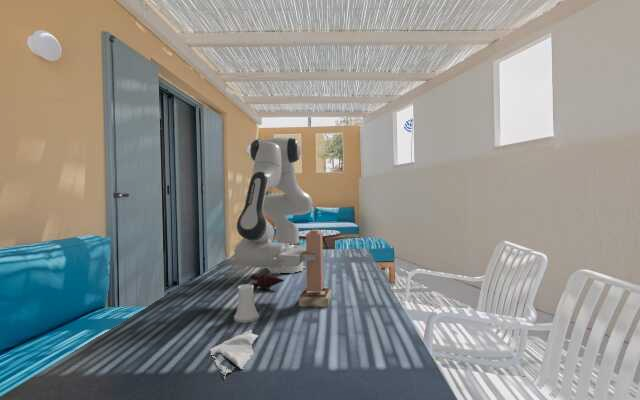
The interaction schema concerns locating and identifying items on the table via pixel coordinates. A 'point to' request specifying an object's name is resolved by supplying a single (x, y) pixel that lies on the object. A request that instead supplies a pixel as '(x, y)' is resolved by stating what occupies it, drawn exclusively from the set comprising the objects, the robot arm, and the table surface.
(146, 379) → the table surface
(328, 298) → the base
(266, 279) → the icecream
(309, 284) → the pillar
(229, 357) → the cloth
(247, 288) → the vase
